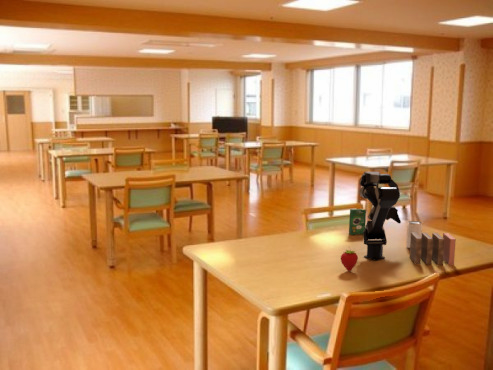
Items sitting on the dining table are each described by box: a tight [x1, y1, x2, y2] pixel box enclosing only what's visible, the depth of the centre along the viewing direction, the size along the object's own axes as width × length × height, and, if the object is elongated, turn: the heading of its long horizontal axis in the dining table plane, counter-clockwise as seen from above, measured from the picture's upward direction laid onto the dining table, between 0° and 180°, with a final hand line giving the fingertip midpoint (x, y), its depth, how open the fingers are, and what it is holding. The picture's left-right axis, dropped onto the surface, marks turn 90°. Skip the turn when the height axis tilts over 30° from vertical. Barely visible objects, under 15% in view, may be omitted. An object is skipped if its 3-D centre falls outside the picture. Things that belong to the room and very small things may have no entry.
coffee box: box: [348, 208, 367, 236], centre depth 254 cm, size 8×3×13 cm, turn 103°
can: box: [406, 220, 423, 250], centre depth 230 cm, size 6×6×12 cm
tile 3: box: [431, 232, 444, 266], centre depth 210 cm, size 2×10×11 cm, turn 175°
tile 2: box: [421, 232, 433, 265], centre depth 210 cm, size 2×10×11 cm, turn 175°
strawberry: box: [340, 246, 359, 272], centre depth 197 cm, size 6×8×10 cm
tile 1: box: [409, 232, 422, 265], centre depth 211 cm, size 2×10×11 cm, turn 175°
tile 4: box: [442, 232, 456, 266], centre depth 210 cm, size 2×10×11 cm, turn 175°
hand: (400, 222), depth 221 cm, fingers closed
